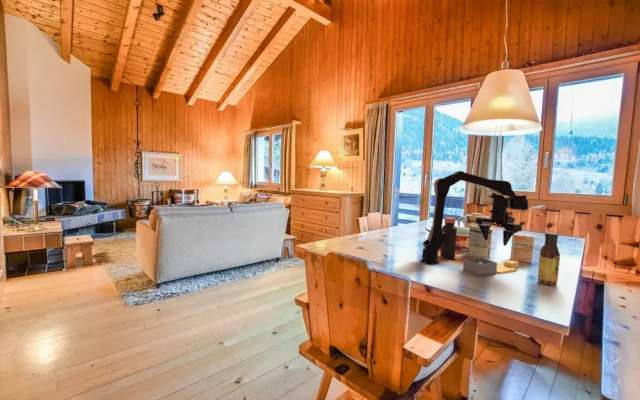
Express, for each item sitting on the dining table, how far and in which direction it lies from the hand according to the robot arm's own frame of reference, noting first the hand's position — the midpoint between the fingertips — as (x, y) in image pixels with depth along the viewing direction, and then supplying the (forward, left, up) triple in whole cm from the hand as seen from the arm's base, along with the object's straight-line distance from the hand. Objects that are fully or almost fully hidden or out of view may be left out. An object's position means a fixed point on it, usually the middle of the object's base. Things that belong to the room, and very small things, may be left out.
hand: (495, 242), depth 134 cm
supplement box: (+22, +3, -12) cm, 25 cm away
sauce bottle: (+2, -21, -12) cm, 24 cm away
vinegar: (-9, +19, -12) cm, 24 cm away
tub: (-13, -3, -11) cm, 17 cm away
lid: (+2, -3, -11) cm, 12 cm away
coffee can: (+9, +16, -12) cm, 22 cm away
